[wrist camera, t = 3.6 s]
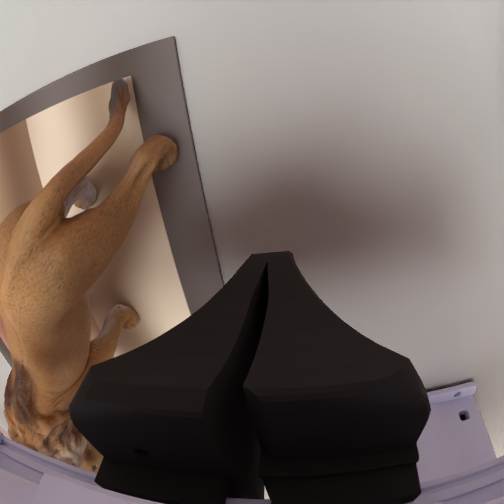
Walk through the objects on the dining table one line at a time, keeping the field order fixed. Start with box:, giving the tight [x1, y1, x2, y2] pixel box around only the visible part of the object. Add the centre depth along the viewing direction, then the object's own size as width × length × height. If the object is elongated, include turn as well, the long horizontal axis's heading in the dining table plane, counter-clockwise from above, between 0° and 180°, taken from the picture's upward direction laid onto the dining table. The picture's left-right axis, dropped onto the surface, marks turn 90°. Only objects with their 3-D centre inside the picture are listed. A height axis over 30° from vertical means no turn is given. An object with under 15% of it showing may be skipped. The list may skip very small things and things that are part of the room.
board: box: [0, 36, 224, 367], centre depth 14 cm, size 20×17×1 cm
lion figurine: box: [0, 79, 177, 473], centre depth 9 cm, size 15×5×9 cm, turn 168°
